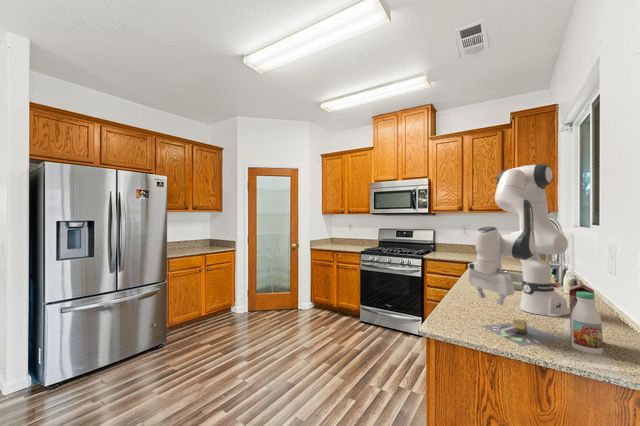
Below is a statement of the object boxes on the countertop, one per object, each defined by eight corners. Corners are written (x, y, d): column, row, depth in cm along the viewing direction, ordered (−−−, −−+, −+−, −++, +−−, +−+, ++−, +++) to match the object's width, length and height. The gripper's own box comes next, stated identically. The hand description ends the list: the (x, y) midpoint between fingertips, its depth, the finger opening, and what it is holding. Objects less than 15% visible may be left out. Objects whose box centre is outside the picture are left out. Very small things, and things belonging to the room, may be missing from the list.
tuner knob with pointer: (518, 329, 114) (518, 318, 114) (530, 333, 110) (529, 322, 110) (497, 334, 109) (496, 323, 109) (508, 338, 105) (508, 327, 105)
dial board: (519, 324, 122) (519, 321, 122) (565, 343, 104) (565, 340, 104) (480, 328, 118) (480, 325, 118) (520, 349, 100) (520, 345, 100)
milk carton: (570, 341, 106) (569, 281, 106) (571, 336, 110) (569, 278, 111) (595, 346, 101) (593, 284, 101) (595, 340, 106) (593, 281, 106)
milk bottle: (565, 347, 101) (564, 290, 101) (585, 346, 101) (584, 289, 102) (588, 358, 93) (586, 296, 93) (609, 356, 94) (607, 295, 94)
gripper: (517, 271, 108) (519, 307, 108) (477, 262, 128) (479, 293, 128) (503, 272, 106) (505, 309, 106) (465, 263, 126) (466, 295, 126)
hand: (490, 300), depth 117 cm, fingers open, 8 cm apart
